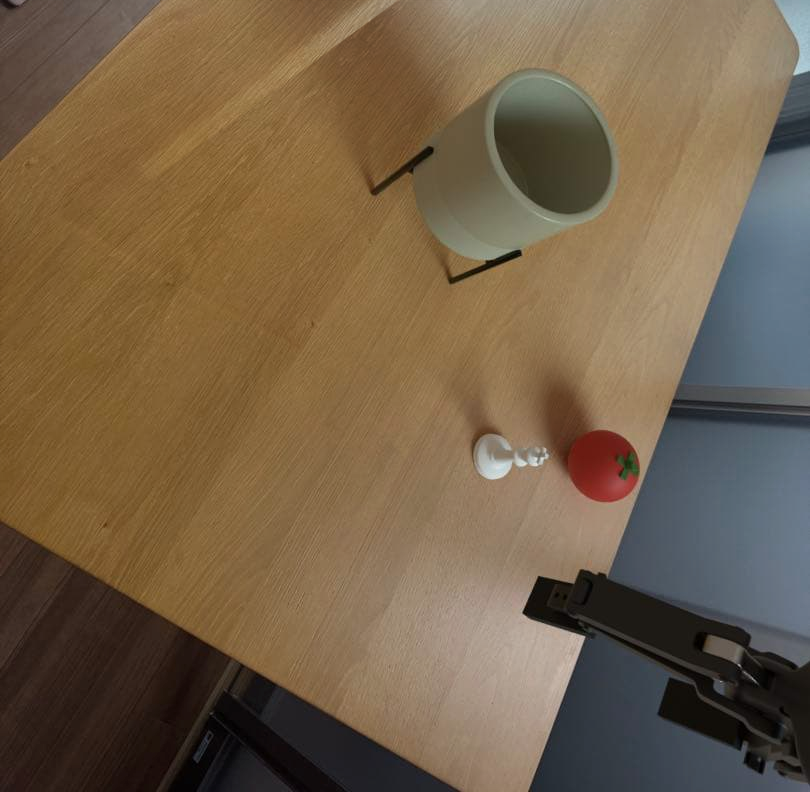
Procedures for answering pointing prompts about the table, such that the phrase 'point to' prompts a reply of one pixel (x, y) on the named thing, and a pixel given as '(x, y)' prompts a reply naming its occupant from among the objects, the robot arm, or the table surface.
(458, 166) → the planter
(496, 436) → the chess piece
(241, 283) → the table surface
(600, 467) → the tomato
